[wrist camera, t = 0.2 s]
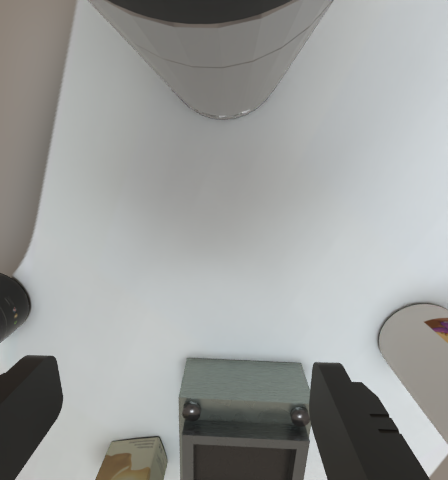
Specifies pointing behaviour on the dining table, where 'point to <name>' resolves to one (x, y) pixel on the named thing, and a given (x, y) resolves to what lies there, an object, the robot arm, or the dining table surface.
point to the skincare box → (134, 460)
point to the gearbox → (243, 420)
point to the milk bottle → (420, 358)
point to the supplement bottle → (11, 306)
